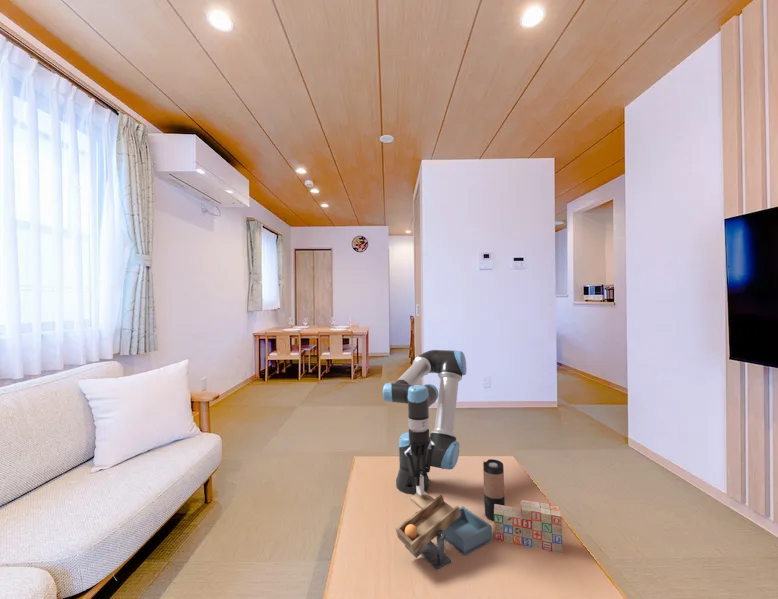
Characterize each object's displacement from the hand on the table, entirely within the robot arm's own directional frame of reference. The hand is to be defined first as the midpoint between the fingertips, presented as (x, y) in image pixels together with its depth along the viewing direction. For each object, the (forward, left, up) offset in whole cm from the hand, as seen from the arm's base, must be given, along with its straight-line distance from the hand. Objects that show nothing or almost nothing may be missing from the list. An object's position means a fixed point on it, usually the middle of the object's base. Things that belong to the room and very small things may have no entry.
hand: (420, 493), depth 125 cm
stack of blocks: (+25, +26, -13) cm, 39 cm away
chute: (+7, -4, -7) cm, 11 cm away
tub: (+12, +10, -12) cm, 20 cm away
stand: (+12, -5, -12) cm, 18 cm away
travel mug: (+10, +28, -13) cm, 32 cm away
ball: (+12, -13, -3) cm, 18 cm away
